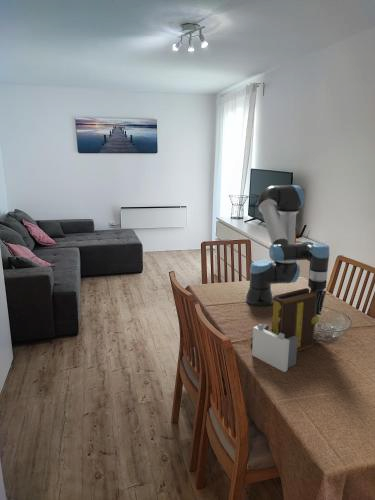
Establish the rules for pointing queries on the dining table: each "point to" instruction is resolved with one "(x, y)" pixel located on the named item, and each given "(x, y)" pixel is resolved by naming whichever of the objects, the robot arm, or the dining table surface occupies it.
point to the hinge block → (252, 340)
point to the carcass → (274, 348)
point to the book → (295, 316)
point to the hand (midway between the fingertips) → (313, 327)
